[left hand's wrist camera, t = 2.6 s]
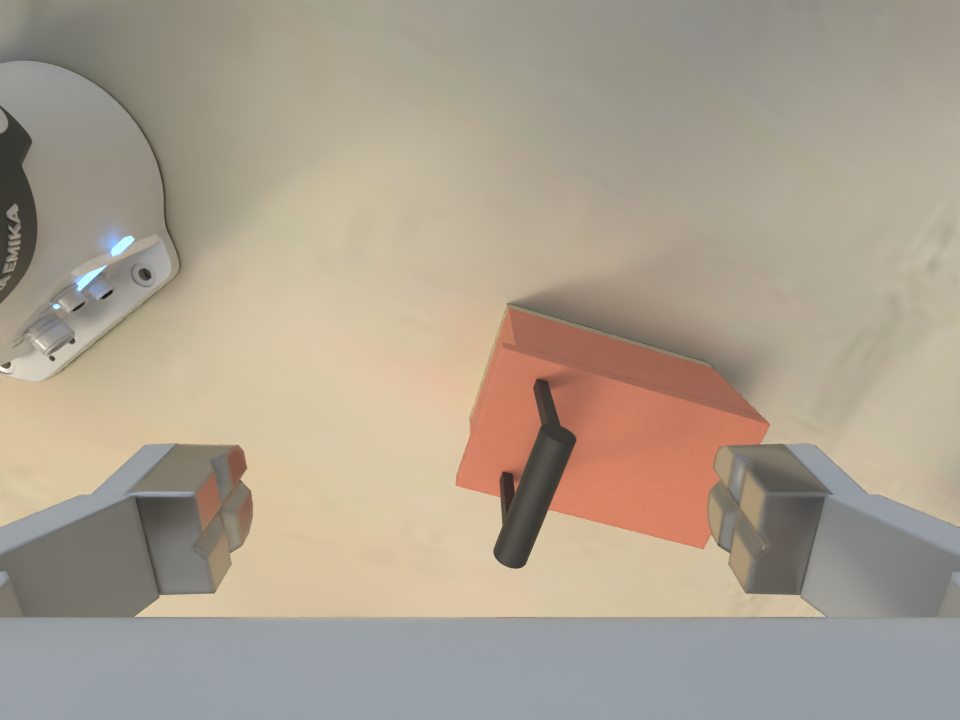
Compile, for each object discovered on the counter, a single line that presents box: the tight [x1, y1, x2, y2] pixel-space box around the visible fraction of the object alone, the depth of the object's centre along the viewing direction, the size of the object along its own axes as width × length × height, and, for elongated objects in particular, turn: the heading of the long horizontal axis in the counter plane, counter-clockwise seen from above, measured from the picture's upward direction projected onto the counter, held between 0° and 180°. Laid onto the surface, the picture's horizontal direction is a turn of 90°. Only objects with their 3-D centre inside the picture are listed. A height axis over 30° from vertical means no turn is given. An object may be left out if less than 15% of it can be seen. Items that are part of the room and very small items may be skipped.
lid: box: [456, 342, 770, 569], centre depth 33 cm, size 17×10×9 cm, turn 73°
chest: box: [470, 304, 761, 434], centre depth 41 cm, size 16×10×9 cm, turn 73°
